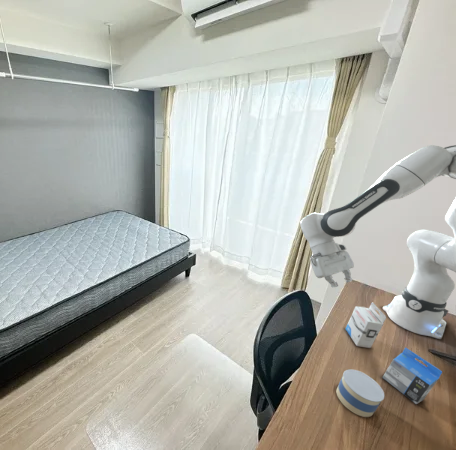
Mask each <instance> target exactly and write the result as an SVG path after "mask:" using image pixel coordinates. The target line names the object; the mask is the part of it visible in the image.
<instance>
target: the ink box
mask: <svg viewBox="0 0 456 450" xmlns="http://www.w3.org/2000/svg"><path fill="white" fill-rule="evenodd" d="M386 319H387V315H385V314H384V312H383V311H382V310H381V309H380V308H379V307H378V306H377V305H376V304H375V303H374V302H371V303H370V305H369V307H365V306H357V305H355V307H354V309H353V311H352V314H351V316H350V317H349V320H348V322H347V324H346V327H345V331H346V332H347V334H348V335H349V337H350V338H351V340H352V341H353V343H354V344H355V346H356V347H362V348H367V349H371V348H372V347H373V345H374V342H375V341H376V340H377V338H378V335H379V333H380V331H381V329H382V328H383V326H384V323H385V322H386Z"/></svg>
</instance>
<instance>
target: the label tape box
mask: <svg viewBox="0 0 456 450" xmlns="http://www.w3.org/2000/svg"><path fill="white" fill-rule="evenodd" d="M420 361H421V362H422V363H421V362H420ZM442 374H443V371H442V370H441V369H440V368H438V367H436V366H435V365H434V364H432V363H430V362H429V361H427V360H426V359H424V358H423V357H421V356H420V355H418V354H417V353H415V352H414V351H412V350H410V349H409V348H407V347H406V346H405V347H404V349H403V350H402V352H400V353H399V354H398V355H397V356H395V358H393V359H392V361H391V362H390V364H389V365H388V367H387V369H386V370H385V372H384V373H383V376H382V379H383V380H384V381H386V382H387V383H389V384H390V385H391V386H392V387H394V388H395V389H396V390H397V391H399V392H400V393H401V394H402V395H404V396H405V397H406V398H408V399H409V400H410V401H411V402H413V403H414V404H415V405H418V404H419V403H420V402H423V401H424V400H425V398H427V396H428V394H429V393H430V392H431V391H432V389H433V387H434V386H435V385H436V383H437V382H438V381H439V379H440V377H441V375H442Z"/></svg>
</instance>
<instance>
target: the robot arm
mask: <svg viewBox="0 0 456 450" xmlns="http://www.w3.org/2000/svg"><path fill="white" fill-rule="evenodd" d="M441 176H443V177H446V178H450V179H453V180H456V144H455V145H449V146H445V147H442V146H439V145H433V144H432V145H427V146H426V145H425V146H423V147H421V148H419V149H416V150H415V151H414V152H412V153H410V154H408V155H407V156H405V157H404V158H402V159H401V160H399V161H398V162H396V163H395V164H394V165H392V166H391V167H390V168H389V169H387V170H386V171H385V172H384V173H383V174H382V175H381V176H379V178H378V179H377V180H376V181H375V182H374V183H373V184H372V185H371V186H370V187H369V188H368V189H366V190H365V191H363V192H362V193H361V194H360V195H358V196H357V197H355V198H354V199H352V200H351V201H350V202H348V203H347V204H344V205H343V206H340V207H337V208H333V209H330V210H329V211H327V212H325V213H321V212H312V213H309V214H307V215H306V216H304V217H302V219H301V220H300V222H299V224H300V229H301V231H302V235H303V236H304V238H305V240H306V241H307V242H308V244H309V248H310V251H311V252H312V254H311V256H310V258H309V259H310V265H311V268H312V271H313V273H314V276H315V277H316V278H317V279H323V278H324V280H325V281H327V283H328V284H329V285H330V287H331V288H337V287H339V284H338V282H337V281H335V280H334V279H333V275H335V274H338V273H342V274H343V275H344V281H345V282H346V283H350V282H351V283H352V281H353V278H352V276H351V274H352V273H351V271H350V269H354V268H355V263H354V261H353V259H352V257H351V255H350V253H349V252H348V251H347V246H346V245H345V244H342V243H338V242H336V241H335V240H334V238H337V237H338V238H339V237H346V236H349V235H350V234H352V233H353V232H354V231H355V229H356V226H357V225H356V224H357V222H358V221H359V220H360V219H361V218H363V217H364V216H366V215H367V214H369V213H370V212H372V211H373V210H374V209H377V208H378V207H379V206H380V205H382V204H385V203H386V202H389V201H390V202H391V201H393V200H400V199H403V198H405V197H407V196H409V195H412V194H414V193H415V192H417V191H419V190H420V189H422V188H423V187H425V186H426V185H427V184H429V183H430V182H432V181H433V180H434V179H436V178H439V177H441ZM444 222H445V223H446V224H447V225H448V226H449V227H450V228H451V230H452V233H453V236H451V235H449V234H446V233H443V232H440V231H437V230H430V229H423V228H422V229H419V230H416V231H414V232H412V233H411V234H410V235H409V236H408V238H407V240H406V247H407V249H408V250H409V252H410V253H411V255H412V259H413V273H412V275H411V278H410V279H409V282H408V284H407V286H405V287H404V289H403V290H402V292H401V294H399V295H395V296H394V297H393V299H392V301H391V302H390V303H389V304H388V305H384V306H383V307H382V310H383V311H384V312H385V313H386V314H387V317H388V318H389V319H390V320H391V321H392V322H393V323H395V324H396V325H398V326H399V327H401V328H402V329H404V330H407V331H409V332H412V333H414V334H416V335H420V336H426V337H427V336H428V337H431V338H435V339H438V340H442V338H443V336H444V333H445V330H446V326H447V321H446V320H444V317H446V316H447V315H448V313H449V310H448V309H446V307H447V301H448V300H449V298H450V296H451V295H452V294H453V292H454V290H455V288H456V284H455V281H454V280H453V279H452V277H451V276H450V275H449V273H448V271H447V269H448V270H450V271H451V272H454V273H456V196H455V197H454V199H453V200H452V202H451V205H450V207H449V208H448V209H447V212H446V213H445V215H444Z"/></svg>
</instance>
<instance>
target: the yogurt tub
mask: <svg viewBox="0 0 456 450" xmlns="http://www.w3.org/2000/svg"><path fill="white" fill-rule="evenodd" d="M335 391H336V396H337V398H338V400H339V401H340V403H341V404H342V405H343V406H344V407H345V408H346V409H348V411H350V412H352V413H353V414H355V415H357V416H359V417H364V418H369V417H372V416H373V415H374V413H375V412H376V411H377V409H378V408H379V406H380V404H381V402H382V401H383V400H384V399H385V392H384V390H383V388H382V387H381V385H380V384H379V383H378V382H377V381H376V380H374V379H373V378H372V377H371V376H369V375H368V374H366V373H365V372H363V371H360V370H358V369H351V368H350V369H349V368H348V369H346V370H344V371H343V374H342V376H341V378H340V381H339V382H338V386H337V388H336V390H335Z"/></svg>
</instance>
